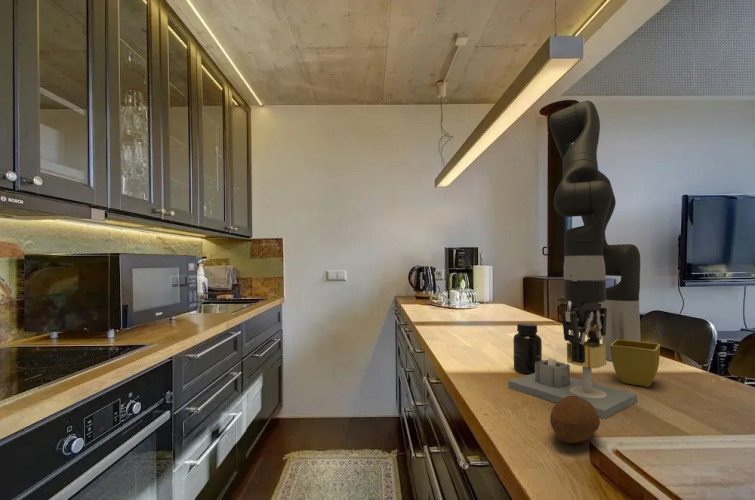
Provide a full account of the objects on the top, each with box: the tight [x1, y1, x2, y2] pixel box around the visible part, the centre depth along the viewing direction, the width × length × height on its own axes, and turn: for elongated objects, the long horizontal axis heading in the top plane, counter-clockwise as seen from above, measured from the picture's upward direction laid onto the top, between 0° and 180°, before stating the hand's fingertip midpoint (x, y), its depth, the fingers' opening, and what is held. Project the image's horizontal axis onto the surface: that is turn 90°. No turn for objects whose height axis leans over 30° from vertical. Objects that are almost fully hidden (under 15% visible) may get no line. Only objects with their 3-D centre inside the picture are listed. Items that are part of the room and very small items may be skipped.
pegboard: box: [507, 358, 638, 420], centre depth 77 cm, size 14×20×6 cm
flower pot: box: [610, 339, 661, 388], centre depth 84 cm, size 9×9×9 cm
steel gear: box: [535, 359, 571, 388], centre depth 80 cm, size 6×6×4 cm
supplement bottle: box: [512, 322, 543, 375], centre depth 94 cm, size 7×7×12 cm
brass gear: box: [566, 340, 607, 369], centre depth 74 cm, size 6×6×4 cm
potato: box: [549, 396, 601, 445], centre depth 57 cm, size 7×12×7 cm, turn 145°
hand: (586, 359), depth 74 cm, fingers closed on brass gear, 5 cm apart
